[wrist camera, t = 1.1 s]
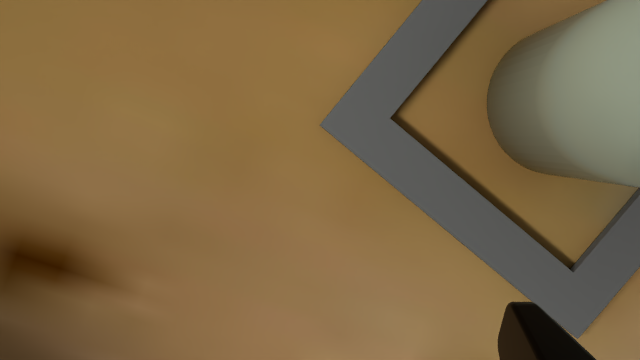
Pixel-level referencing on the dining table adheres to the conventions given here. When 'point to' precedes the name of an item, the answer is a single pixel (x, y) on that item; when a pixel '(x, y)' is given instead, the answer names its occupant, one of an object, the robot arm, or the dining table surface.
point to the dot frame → (459, 197)
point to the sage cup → (574, 97)
